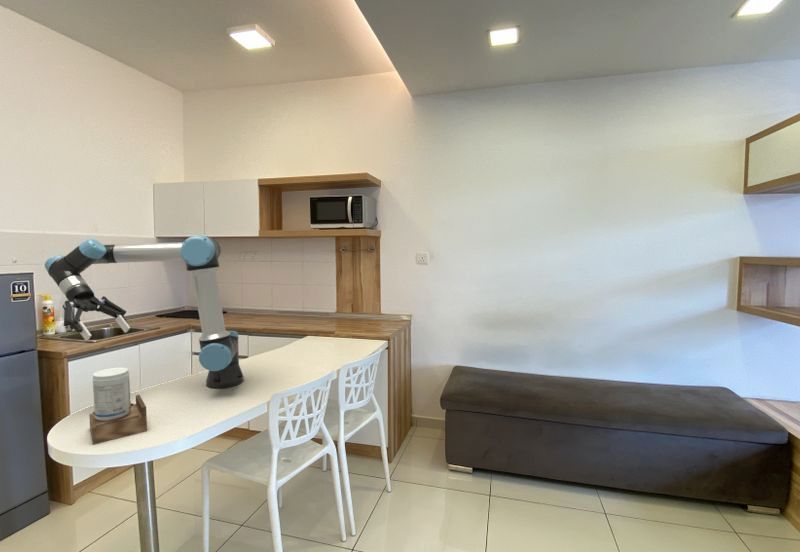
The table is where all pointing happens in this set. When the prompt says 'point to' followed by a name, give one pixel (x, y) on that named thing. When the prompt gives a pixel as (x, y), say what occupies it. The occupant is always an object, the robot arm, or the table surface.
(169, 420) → the table surface
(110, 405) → the supplement tub
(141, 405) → the shelf
